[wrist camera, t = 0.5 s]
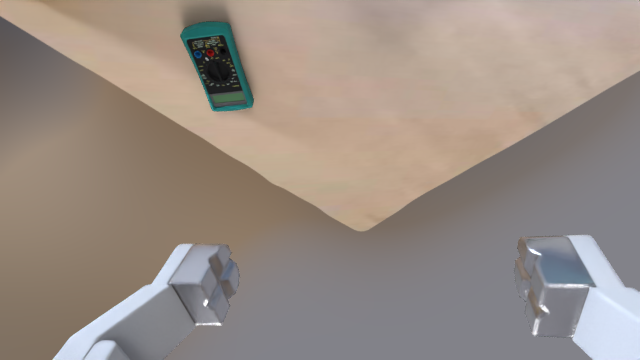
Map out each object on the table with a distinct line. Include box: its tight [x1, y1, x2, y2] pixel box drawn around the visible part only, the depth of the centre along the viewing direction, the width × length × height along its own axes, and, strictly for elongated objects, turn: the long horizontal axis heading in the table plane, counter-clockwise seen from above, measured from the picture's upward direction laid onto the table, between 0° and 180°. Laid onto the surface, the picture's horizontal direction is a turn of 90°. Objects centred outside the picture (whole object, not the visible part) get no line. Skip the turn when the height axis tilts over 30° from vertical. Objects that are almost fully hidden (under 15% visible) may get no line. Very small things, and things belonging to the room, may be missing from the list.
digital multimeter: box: [180, 21, 254, 111], centre depth 59 cm, size 7×15×3 cm, turn 8°
